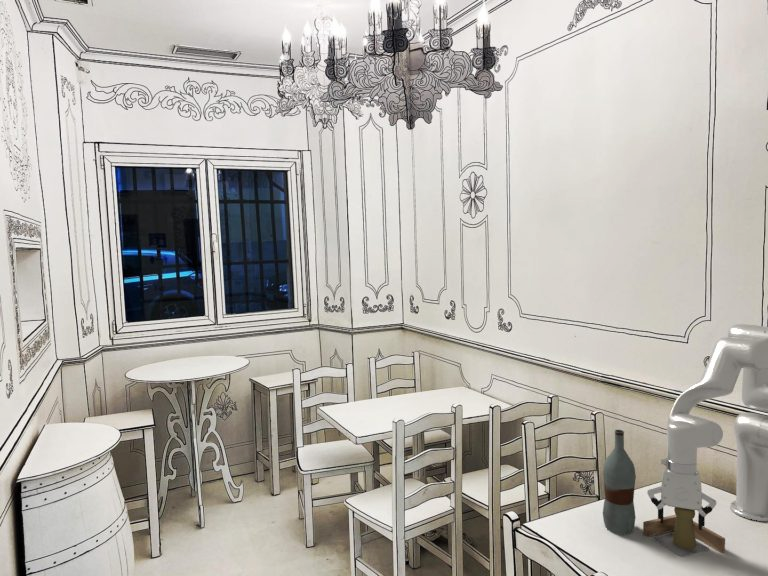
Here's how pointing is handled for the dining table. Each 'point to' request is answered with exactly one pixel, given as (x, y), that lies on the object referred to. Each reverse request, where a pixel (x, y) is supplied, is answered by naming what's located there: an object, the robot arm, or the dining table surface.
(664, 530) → the corner arena
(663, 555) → the dining table surface
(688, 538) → the cork
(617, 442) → the bottle
